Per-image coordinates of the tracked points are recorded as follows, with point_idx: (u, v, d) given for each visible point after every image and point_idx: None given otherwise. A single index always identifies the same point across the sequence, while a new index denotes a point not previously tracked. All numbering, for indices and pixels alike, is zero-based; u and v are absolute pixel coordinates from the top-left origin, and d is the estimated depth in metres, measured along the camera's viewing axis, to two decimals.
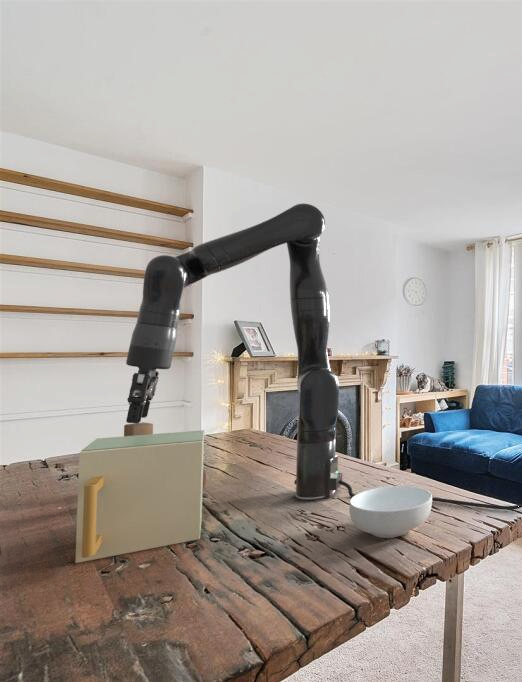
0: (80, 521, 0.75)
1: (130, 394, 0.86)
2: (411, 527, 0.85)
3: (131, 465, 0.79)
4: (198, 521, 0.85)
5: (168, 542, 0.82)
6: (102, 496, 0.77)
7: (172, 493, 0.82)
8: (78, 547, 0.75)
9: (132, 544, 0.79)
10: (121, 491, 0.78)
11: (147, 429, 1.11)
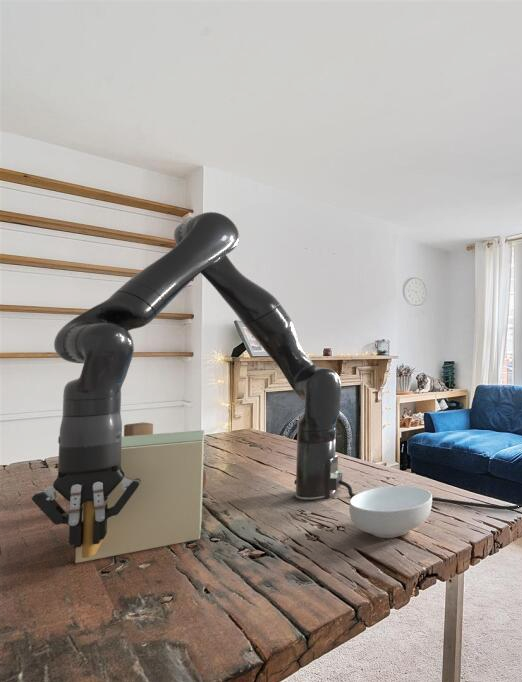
0: None
1: None
2: (411, 527, 0.85)
3: (131, 465, 0.79)
4: (198, 521, 0.85)
5: (168, 542, 0.82)
6: None
7: (172, 493, 0.82)
8: (78, 547, 0.75)
9: (132, 544, 0.79)
10: (121, 491, 0.78)
11: (147, 429, 1.11)
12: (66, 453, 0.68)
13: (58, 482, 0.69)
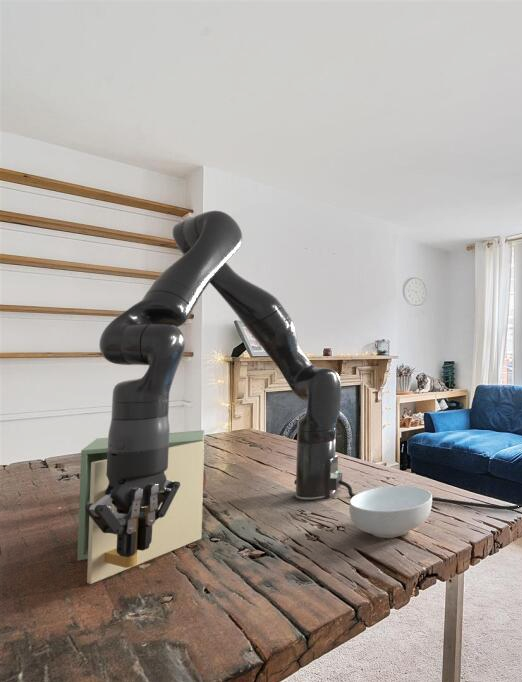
0: (95, 537, 0.69)
1: None
2: (411, 527, 0.85)
3: None
4: (200, 521, 0.85)
5: (175, 546, 0.80)
6: None
7: (179, 496, 0.81)
8: (93, 566, 0.69)
9: (144, 554, 0.75)
10: None
11: None
12: (138, 457, 0.67)
13: (119, 490, 0.66)
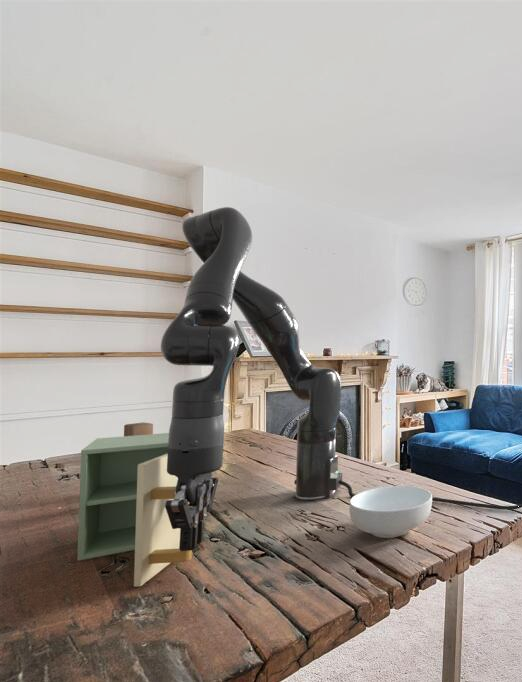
0: (144, 539, 0.68)
1: None
2: (411, 527, 0.85)
3: None
4: None
5: None
6: (156, 509, 0.71)
7: None
8: (142, 568, 0.68)
9: None
10: (166, 500, 0.74)
11: (147, 429, 1.11)
12: (210, 453, 0.70)
13: (192, 485, 0.68)
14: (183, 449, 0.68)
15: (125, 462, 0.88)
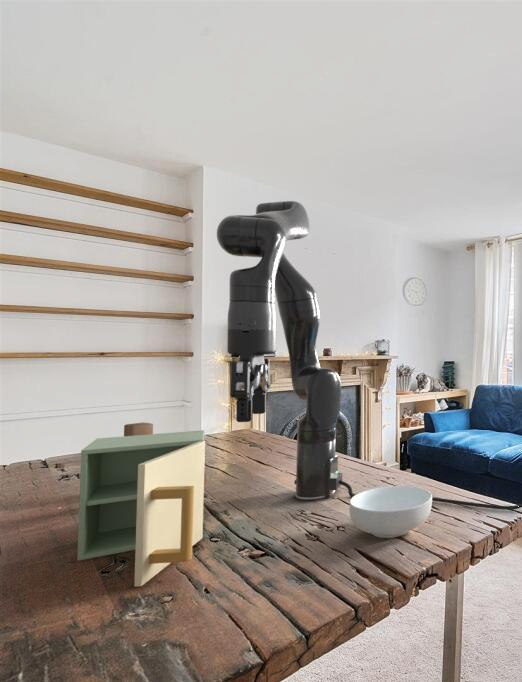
0: (144, 539, 0.68)
1: None
2: (411, 527, 0.85)
3: (171, 472, 0.75)
4: (202, 520, 0.85)
5: None
6: (156, 508, 0.71)
7: None
8: (143, 568, 0.68)
9: None
10: (166, 500, 0.74)
11: (147, 429, 1.11)
12: (266, 335, 0.76)
13: (253, 361, 0.74)
14: (243, 329, 0.74)
15: (125, 462, 0.88)
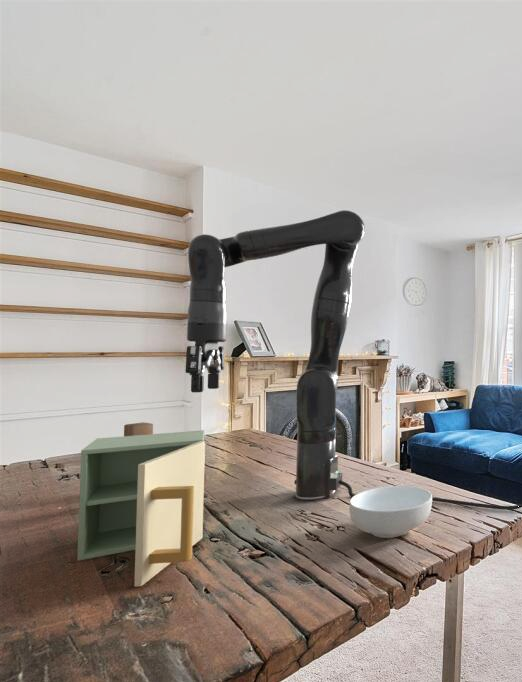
0: (144, 539, 0.68)
1: None
2: (411, 527, 0.85)
3: (171, 472, 0.75)
4: (202, 520, 0.85)
5: None
6: (156, 508, 0.71)
7: None
8: (143, 568, 0.68)
9: None
10: (166, 500, 0.74)
11: (147, 429, 1.11)
12: (217, 327, 0.99)
13: (205, 347, 0.98)
14: (198, 322, 0.97)
15: (125, 462, 0.88)
